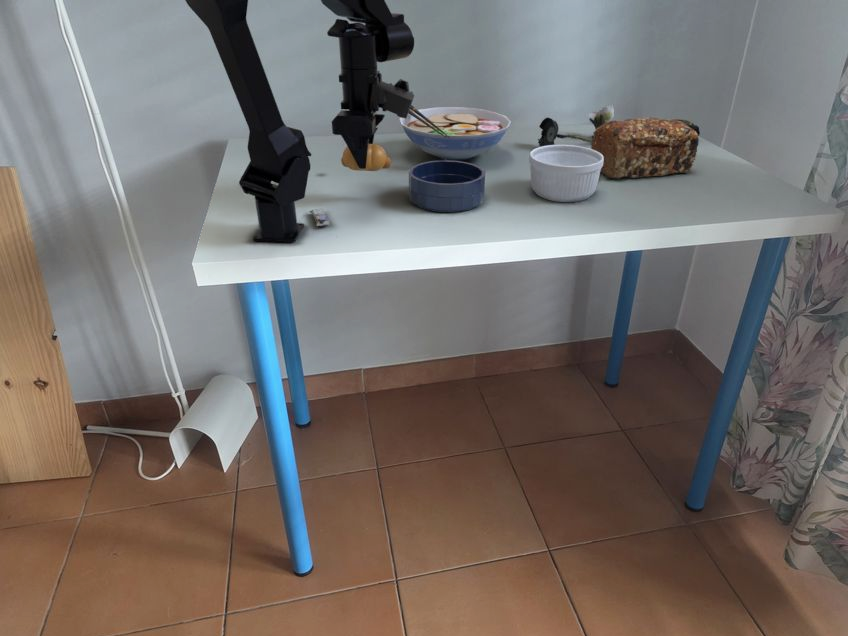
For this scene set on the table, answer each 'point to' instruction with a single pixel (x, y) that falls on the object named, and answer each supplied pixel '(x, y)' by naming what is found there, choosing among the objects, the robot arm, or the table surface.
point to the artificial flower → (551, 131)
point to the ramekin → (565, 172)
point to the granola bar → (320, 217)
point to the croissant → (368, 159)
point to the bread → (645, 147)
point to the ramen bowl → (454, 131)
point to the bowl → (446, 185)
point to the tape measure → (690, 125)
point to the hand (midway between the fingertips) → (364, 164)
